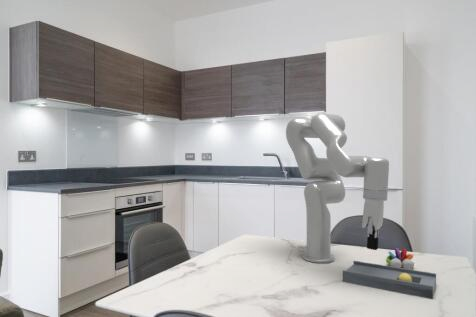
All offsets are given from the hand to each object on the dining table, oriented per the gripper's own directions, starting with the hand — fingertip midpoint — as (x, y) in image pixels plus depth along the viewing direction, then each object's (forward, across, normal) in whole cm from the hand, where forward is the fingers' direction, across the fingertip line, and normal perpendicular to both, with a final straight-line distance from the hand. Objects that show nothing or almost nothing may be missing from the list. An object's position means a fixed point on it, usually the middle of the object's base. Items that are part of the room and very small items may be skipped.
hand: (372, 248), depth 116 cm
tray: (+10, +1, +6) cm, 12 cm away
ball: (+8, +1, +11) cm, 13 cm away
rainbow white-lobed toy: (+11, -19, +6) cm, 23 cm away
